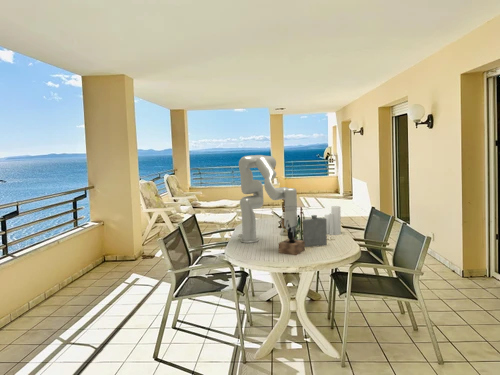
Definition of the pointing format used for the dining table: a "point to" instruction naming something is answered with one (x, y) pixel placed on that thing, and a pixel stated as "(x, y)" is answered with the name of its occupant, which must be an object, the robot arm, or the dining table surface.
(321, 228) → the hip flask
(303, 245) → the wooden square hole block
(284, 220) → the robot arm
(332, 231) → the vase
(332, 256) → the dining table surface
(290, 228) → the grey metal rod
